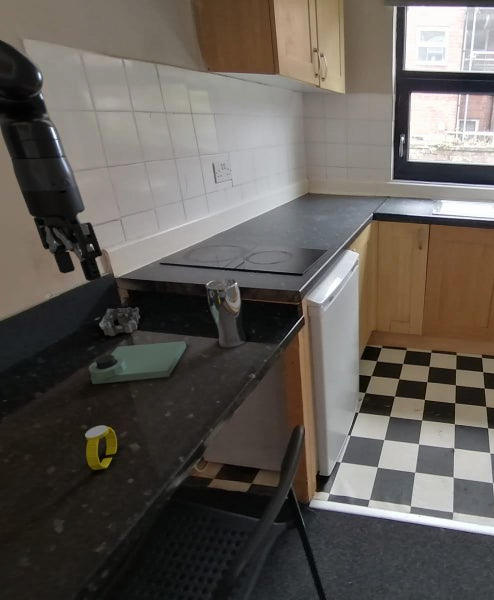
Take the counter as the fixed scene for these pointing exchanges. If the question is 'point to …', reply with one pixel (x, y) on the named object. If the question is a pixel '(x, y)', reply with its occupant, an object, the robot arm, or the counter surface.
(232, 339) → the beer glass
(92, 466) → the watch
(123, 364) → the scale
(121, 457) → the counter surface
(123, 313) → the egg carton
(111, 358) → the power button
